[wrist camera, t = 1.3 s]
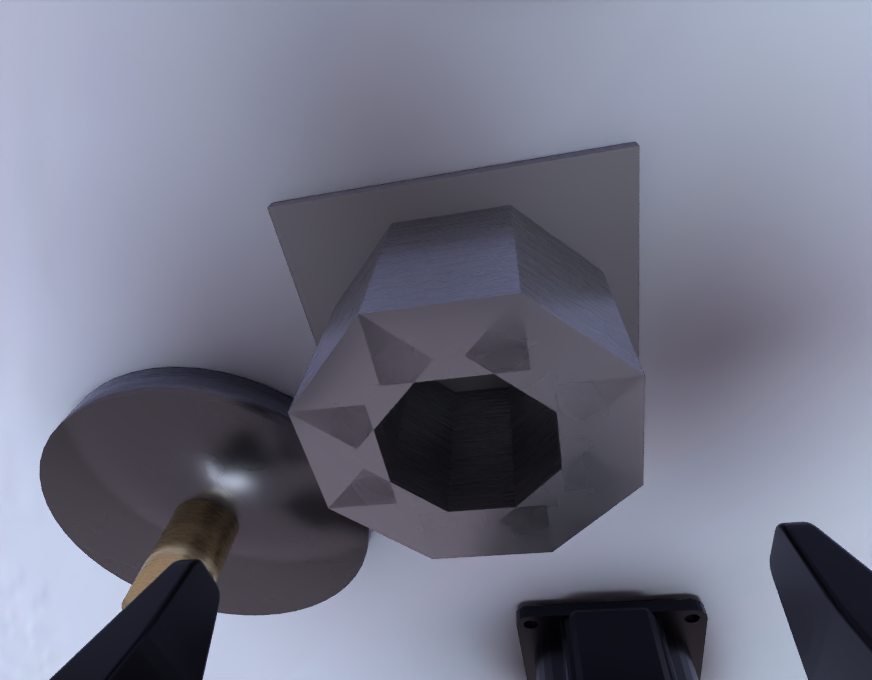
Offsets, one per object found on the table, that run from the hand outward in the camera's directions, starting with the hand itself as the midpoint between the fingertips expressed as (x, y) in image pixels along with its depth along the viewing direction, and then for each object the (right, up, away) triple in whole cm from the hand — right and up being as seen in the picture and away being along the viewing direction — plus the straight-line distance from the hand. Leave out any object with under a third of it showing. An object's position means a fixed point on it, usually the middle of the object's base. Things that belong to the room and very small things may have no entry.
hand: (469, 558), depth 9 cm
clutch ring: (0, +4, +5) cm, 6 cm away
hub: (-8, -1, +10) cm, 12 cm away
